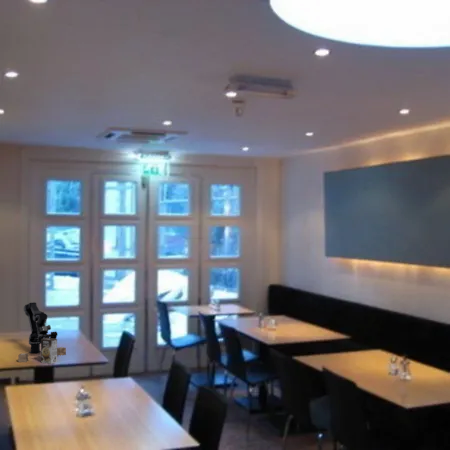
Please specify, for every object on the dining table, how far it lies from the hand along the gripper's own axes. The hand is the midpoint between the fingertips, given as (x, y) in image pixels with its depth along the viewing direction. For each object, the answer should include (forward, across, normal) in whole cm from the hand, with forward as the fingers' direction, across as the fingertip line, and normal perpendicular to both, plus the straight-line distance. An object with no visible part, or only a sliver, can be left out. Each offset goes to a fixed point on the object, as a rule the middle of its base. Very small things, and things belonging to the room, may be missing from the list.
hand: (45, 346), depth 418 cm
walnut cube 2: (0, +14, +13) cm, 19 cm away
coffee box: (+13, 0, +1) cm, 13 cm away
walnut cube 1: (+4, -14, +9) cm, 17 cm away
